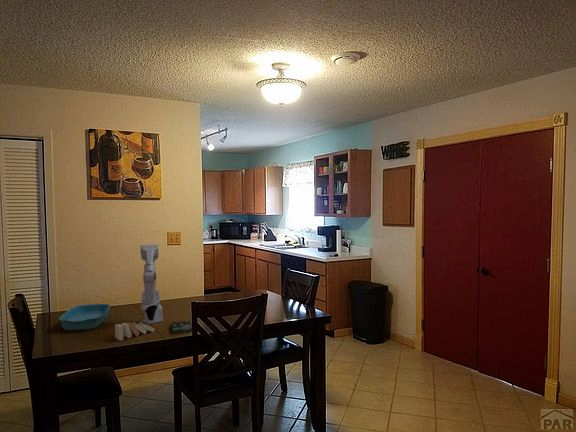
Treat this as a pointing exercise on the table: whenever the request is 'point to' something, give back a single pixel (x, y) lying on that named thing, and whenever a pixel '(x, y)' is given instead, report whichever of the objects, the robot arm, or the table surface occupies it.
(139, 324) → the domino
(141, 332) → the domino
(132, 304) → the table surface
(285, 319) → the table surface
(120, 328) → the domino
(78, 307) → the casserole dish
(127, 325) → the domino
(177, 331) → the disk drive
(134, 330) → the domino
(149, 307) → the robot arm
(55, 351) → the table surface
